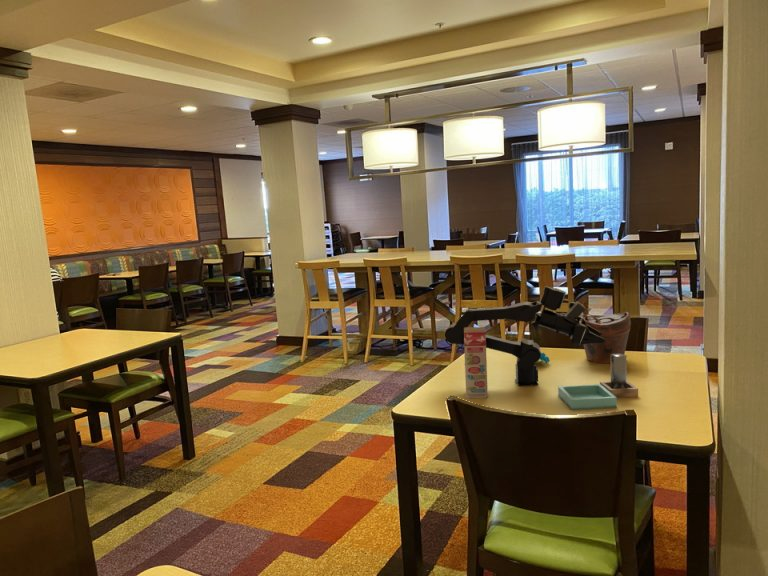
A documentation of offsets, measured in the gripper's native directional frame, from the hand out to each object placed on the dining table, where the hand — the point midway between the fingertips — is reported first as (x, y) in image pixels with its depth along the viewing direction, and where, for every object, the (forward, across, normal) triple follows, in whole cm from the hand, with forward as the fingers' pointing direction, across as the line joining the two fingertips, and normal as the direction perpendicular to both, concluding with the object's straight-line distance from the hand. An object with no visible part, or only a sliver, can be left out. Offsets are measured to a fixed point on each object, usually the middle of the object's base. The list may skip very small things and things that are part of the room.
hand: (602, 337), depth 190 cm
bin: (-1, -17, +17) cm, 24 cm away
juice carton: (-32, -13, +29) cm, 45 cm away
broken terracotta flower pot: (+9, +32, +13) cm, 36 cm away
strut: (+9, -8, +13) cm, 18 cm away
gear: (-14, +26, +22) cm, 36 cm away
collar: (+9, -8, +13) cm, 18 cm away
